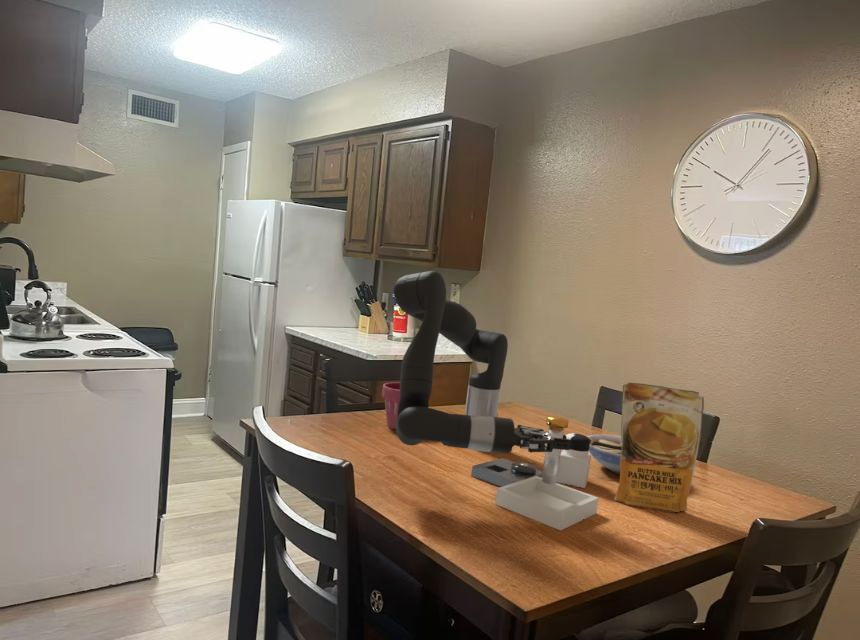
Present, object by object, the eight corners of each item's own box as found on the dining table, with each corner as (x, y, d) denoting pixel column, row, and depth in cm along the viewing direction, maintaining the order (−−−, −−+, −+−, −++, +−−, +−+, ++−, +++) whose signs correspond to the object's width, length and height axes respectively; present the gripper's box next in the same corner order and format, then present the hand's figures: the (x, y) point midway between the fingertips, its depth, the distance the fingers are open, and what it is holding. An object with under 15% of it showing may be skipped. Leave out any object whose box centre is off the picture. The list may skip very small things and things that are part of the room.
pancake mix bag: (605, 493, 149) (621, 379, 147) (687, 506, 146) (704, 390, 144) (609, 503, 142) (626, 384, 140) (695, 517, 139) (713, 395, 137)
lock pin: (545, 477, 136) (553, 415, 135) (563, 483, 133) (572, 420, 132) (534, 480, 133) (543, 416, 132) (552, 487, 130) (562, 422, 129)
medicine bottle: (587, 480, 157) (593, 435, 156) (585, 489, 150) (591, 441, 149) (559, 475, 159) (565, 429, 158) (556, 482, 152) (562, 435, 152)
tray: (533, 490, 145) (535, 475, 144) (596, 513, 134) (598, 497, 134) (494, 504, 133) (496, 488, 132) (560, 530, 122) (562, 513, 122)
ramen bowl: (674, 472, 174) (678, 444, 173) (669, 495, 153) (673, 463, 153) (585, 453, 184) (589, 426, 184) (569, 471, 163) (573, 441, 163)
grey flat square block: (501, 467, 160) (503, 452, 159) (544, 482, 151) (546, 466, 151) (471, 475, 150) (473, 459, 150) (515, 492, 141) (518, 475, 141)
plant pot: (369, 424, 188) (373, 383, 187) (397, 419, 199) (401, 380, 198) (406, 436, 180) (411, 393, 179) (433, 429, 191) (438, 389, 190)
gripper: (497, 424, 124) (580, 433, 125) (486, 409, 138) (561, 417, 139) (492, 461, 124) (575, 469, 126) (482, 442, 138) (556, 450, 140)
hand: (567, 442), depth 132 cm, fingers closed on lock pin, 3 cm apart
